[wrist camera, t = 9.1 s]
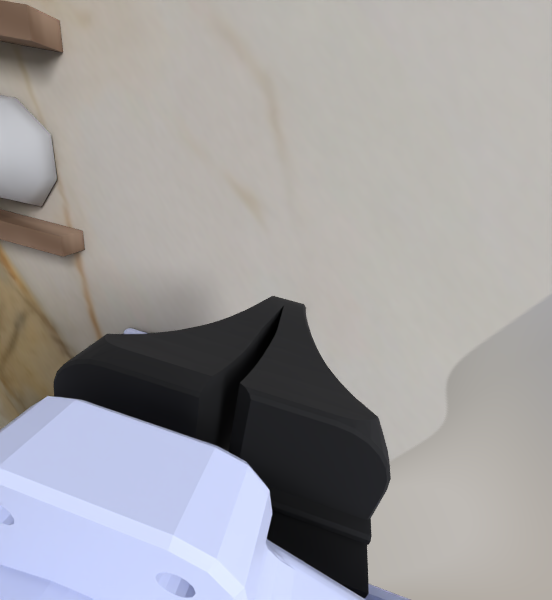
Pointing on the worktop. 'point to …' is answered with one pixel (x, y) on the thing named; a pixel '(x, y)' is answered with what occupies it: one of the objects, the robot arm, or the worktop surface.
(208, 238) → the worktop surface
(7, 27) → the walnut bay
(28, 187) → the flask
